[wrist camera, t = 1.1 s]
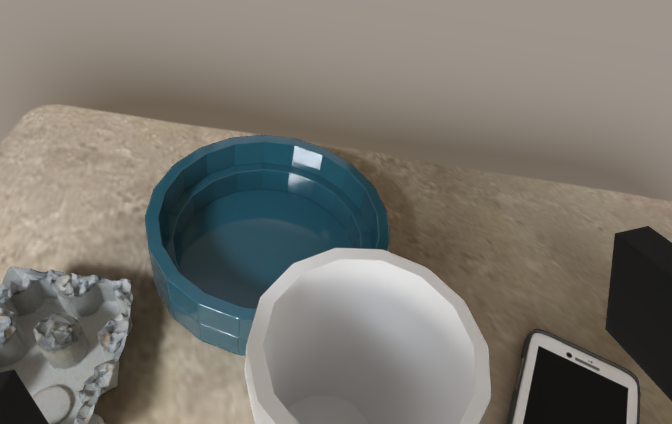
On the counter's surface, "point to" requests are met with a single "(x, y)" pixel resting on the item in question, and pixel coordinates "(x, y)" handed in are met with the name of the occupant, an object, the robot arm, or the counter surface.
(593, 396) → the cell phone
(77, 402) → the egg carton
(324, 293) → the foam cup
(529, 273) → the counter surface
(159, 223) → the bowl
